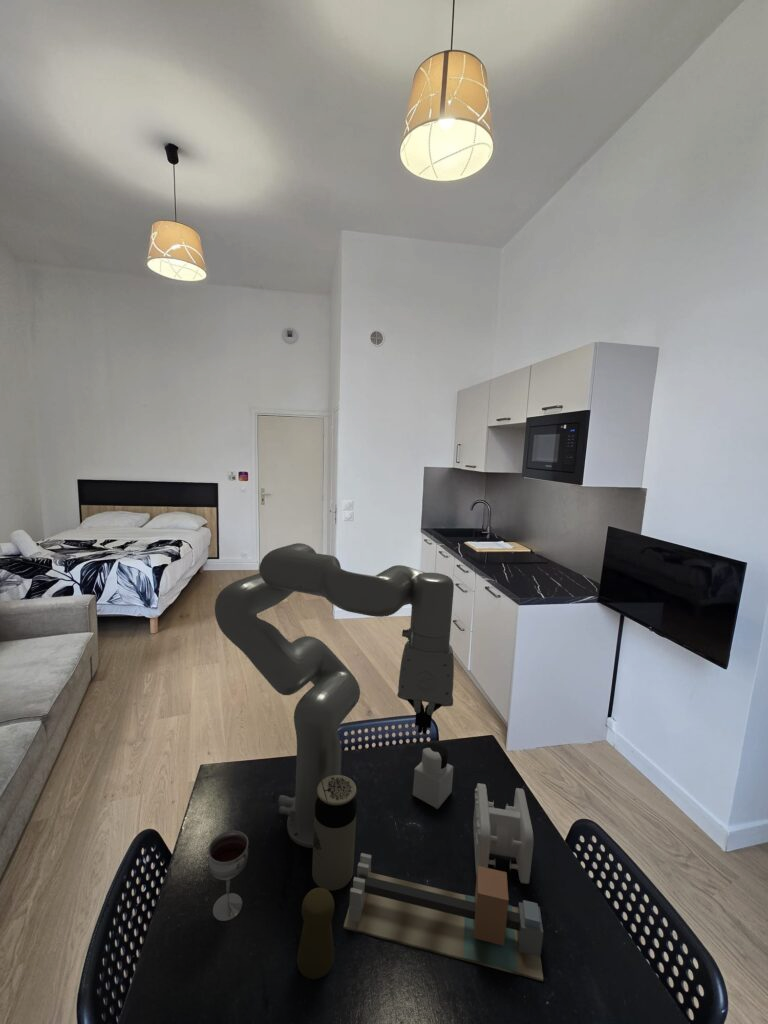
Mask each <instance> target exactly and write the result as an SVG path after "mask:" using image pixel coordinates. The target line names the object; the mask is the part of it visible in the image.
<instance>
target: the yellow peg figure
mask: <svg viewBox="0 0 768 1024" xmlns="http://www.w3.org/2000/svg"><path fill="white" fill-rule="evenodd" d="M334 913H335V900H334V897H333V895H332V893H331V892H330V890H327V889H324V888H321V887H316V888H313V889H310V890H309V891H308V892H307V893H306V895H305V897H304V898H303V900H302V904H301V917H302V920H303V925H302V930H301V935H300V941H299V946H298V951H297V957H296V965H297V968H298V970H299V972H300V974H301V975H302V976H304V977H305V978H307V977H308V978H307V979H309V978H312V979H311V980H317V978H319V979H321V978H320V977H322V978H323V977H325V976H326V975H327V974H329V972H330V971H331V970H332V968H333V965H334V963H335V947H334V938H333V937H334V936H333V929H332V926H333V925H332V919H333V917H334V915H335V914H334Z"/></svg>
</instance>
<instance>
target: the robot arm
mask: <svg viewBox="0 0 768 1024" xmlns="http://www.w3.org/2000/svg"><path fill="white" fill-rule="evenodd" d="M454 586H455V583H454V580H453V579H452V577H450V576H448V575H445V574H443V573H438V572H425V571H422V570H419V569H416V568H413V567H410V566H407V565H401V564H400V565H399V564H398V565H397V564H396V565H393V566H391V567H389V568H387V569H384V570H383V571H381V572H379V573H377V574H376V575H370V574H363V573H357V572H351V571H349V570H348V571H347V570H345V569H343V568H341V564H340V561H339V559H338V558H337V557H336V556H334V555H332V554H331V555H330V554H322V553H317V552H316V551H315V549H314V548H313V547H312V546H310V545H308V544H305V543H302V542H297V543H293V544H289V545H285V546H282V547H277V548H275V549H272V550H270V551H269V552H268V553H267V554H265V555H264V556H263V557H262V559H261V561H260V565H259V572H258V573H255V574H253V575H250V576H247V577H244V578H241V579H238V580H236V581H233V582H232V583H229V584H228V585H227V586H225V587H224V588H222V590H220V592H219V593H218V595H217V597H216V600H215V603H214V615H215V620H216V623H217V625H218V627H219V630H221V632H222V634H223V635H224V636H225V637H226V638H227V639H228V640H229V641H230V642H232V644H234V645H235V647H237V648H238V650H240V651H242V653H243V654H244V655H245V656H246V658H248V660H249V661H250V662H251V663H252V665H253V666H254V667H255V668H256V670H258V672H259V673H260V674H261V675H262V676H263V678H264V679H265V680H266V681H267V682H268V683H269V685H270V686H271V687H272V688H273V689H274V690H275V691H276V692H277V693H278V694H280V695H282V696H291V695H294V694H295V693H297V692H299V691H300V690H301V689H302V688H304V687H305V686H306V685H308V684H309V683H311V684H313V686H312V687H311V688H310V689H308V690H307V691H306V692H305V693H304V694H303V696H301V698H300V699H299V700H298V702H297V704H296V705H295V708H294V713H293V724H294V730H295V736H296V765H295V768H296V769H295V772H296V773H295V774H296V775H295V792H294V793H295V794H294V795H295V796H293V797H289V796H288V795H283V794H281V795H279V797H278V801H277V805H279V808H278V813H279V814H283V815H287V817H288V818H287V823H286V829H287V833H288V836H289V838H290V839H291V840H292V842H294V843H295V844H297V845H299V846H301V847H304V848H306V849H307V848H308V849H313V841H314V817H315V802H316V799H317V798H318V794H317V787H318V785H319V783H320V782H321V781H322V780H323V779H325V778H326V777H329V776H333V775H341V770H342V769H341V768H342V741H341V739H340V736H339V728H340V725H342V722H343V721H344V720H345V719H346V717H347V716H348V715H349V714H350V713H351V711H353V709H354V708H355V707H356V706H357V704H358V702H359V699H360V696H361V689H360V688H361V687H360V684H359V682H358V680H357V679H356V677H355V676H354V674H353V673H352V671H350V670H349V669H348V667H347V665H346V664H344V663H343V662H342V661H341V660H340V659H339V657H338V656H337V655H336V654H335V653H334V652H333V651H332V650H331V648H329V646H328V645H327V644H325V642H324V641H322V640H320V639H319V638H317V637H314V636H311V635H306V636H305V635H304V636H301V637H299V638H297V639H295V640H293V641H292V642H290V641H289V640H288V639H287V638H286V636H284V635H283V634H282V633H281V631H280V629H278V628H277V627H276V626H274V625H273V624H272V623H270V622H268V621H266V620H265V619H261V618H260V617H258V614H259V613H262V612H264V611H266V610H268V609H270V608H273V607H275V606H277V605H279V604H280V603H281V602H283V601H284V600H286V599H287V598H288V597H289V596H290V595H292V594H293V593H294V592H296V593H301V594H308V595H312V596H317V597H322V598H325V599H326V600H327V601H328V602H329V603H330V604H332V605H334V606H335V607H336V608H338V609H341V610H342V611H346V612H349V613H353V614H358V615H363V616H369V617H376V618H383V617H384V618H385V617H389V616H392V615H394V614H396V613H397V612H398V611H400V609H402V608H403V607H404V606H407V605H411V612H410V613H411V615H410V626H409V628H407V629H402V632H401V637H403V638H406V639H407V641H406V642H405V644H404V647H403V651H402V655H401V662H400V668H399V676H398V677H399V678H398V686H397V687H398V688H397V689H398V691H397V695H396V696H397V698H398V699H401V700H403V701H407V702H408V704H410V706H411V707H412V708H413V709H414V713H415V723H414V726H416V727H417V734H422V733H423V735H427V731H428V729H431V727H432V717H433V714H434V712H436V711H438V710H439V709H440V708H441V707H443V708H444V707H453V705H454V697H453V691H454V675H455V674H454V673H455V672H454V671H455V665H454V664H455V663H454V652H453V647H452V646H451V644H450V639H451V627H452V615H453V601H454V589H455V587H454ZM423 702H424V703H428V704H426V705H424V704H423Z"/></svg>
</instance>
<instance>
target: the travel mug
mask: <svg viewBox="0 0 768 1024" xmlns="http://www.w3.org/2000/svg"><path fill="white" fill-rule="evenodd" d="M317 794H318V798H317V799H316V802H315V817H314V841H313V848H312V865H311V866H312V867H311V874H312V875H311V876H312V878H313V881H314V882H315V884H316V885H317V886H318V888H324V889H327V890H328V891H337V890H340V889H342V888H344V887H346V886H347V885H348V884H349V883H350V881H351V879H353V878H352V877H353V875H354V862H355V861H354V860H355V847H356V845H355V843H356V828H357V827H356V826H357V809H358V808H357V807H358V801H357V799H356V797H355V796H356V794H357V786H356V783H355V782H354V780H352V779H351V778H350V777H348V776H345V775H341V774H340V775H333V776H329V777H326V778H325V779H323V780H322V781H321V782H320V783H319V785H318V787H317Z"/></svg>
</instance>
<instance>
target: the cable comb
mask: <svg viewBox="0 0 768 1024" xmlns="http://www.w3.org/2000/svg"><path fill="white" fill-rule="evenodd" d="M371 873H372V854H367V853H364V852H361V853H360V860H359V862H358V864H357V869H356V876H354V877H353V882H352V887H351V888H350V890H349V905H348V908H349V916H348V919H349V920H352V921H356V922H360V918H361V914H362V910H363V906H364V902H365V898H366V894H367V893H365V892H364V891H365V879H361V878H359V875H363V876H367V877H370V876H371Z"/></svg>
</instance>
